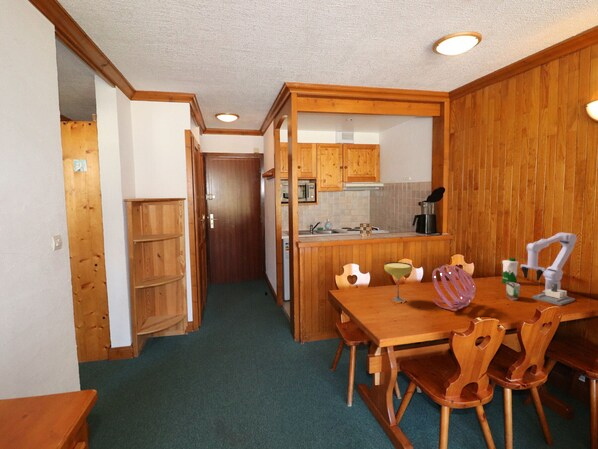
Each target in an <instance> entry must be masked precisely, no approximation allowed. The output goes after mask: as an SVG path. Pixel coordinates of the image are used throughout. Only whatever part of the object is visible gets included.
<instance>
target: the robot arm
mask: <svg viewBox="0 0 598 449" xmlns="http://www.w3.org/2000/svg"><path fill="white" fill-rule="evenodd" d="M577 241H578V237H577V235H576V234H575V233H569V232H563V231H560V232H557V233H556V234H554V235H553V236H550V237H549V238H540V240H538V241H534V242H533V243H532V242H530V243H528V244H527V245H526V247H525V249H526V250H527V264H520V268H521V271H522V273H523V275H524V276H523V277H524V279H527V278H528V276H529V275H528V272H529V269H530V270H536V271H535V272H536V281H540V279H541V278H542V276H543V277H544V279H545V286H544V287H545V289H544V290H542V293H545V292H546V290H548V289H551V286H552V283H556V284H557V289H559V290H561V285H562V282H561V280H562V278H563V274H564V272H563V270H562V269H563V267H564V265H565V263H566V262H567V260H568V259H569V256H570V255H571V253H572V251H573V250H574V248H575V244H577ZM555 242H556V243H557V242H559V243H560V244H561V245H562V247H561V249H560V251H559V253H558V254H557V256H556V258H555V260H554V261H553V263H552V265H551V266H547V268H546V267H541V266H539V265H538V264H539V253H540V252H541V250H542V249H545V248H547V247H549V246H550V244H552V243H555Z"/></svg>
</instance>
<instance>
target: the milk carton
mask: <svg viewBox="0 0 598 449" xmlns="http://www.w3.org/2000/svg"><path fill="white" fill-rule="evenodd" d="M501 261H502V262H501V263H502V278H501V279H502V281H501V283H503V284H506V282H513V283H517V284H518V278H517V276H518V265H519V261H518V260H516V257H509V259H504V260H501Z"/></svg>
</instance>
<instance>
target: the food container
mask: <svg viewBox="0 0 598 449" xmlns="http://www.w3.org/2000/svg"><path fill="white" fill-rule="evenodd" d="M505 289H506V292H505V293H506V294H505V295H506V297H507V298H508V299H509V300H511V301H513V302H514V301H518V300H519V298H520V290H521V284H519V283H518V282H517V283H513V282H506V283H505Z"/></svg>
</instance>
